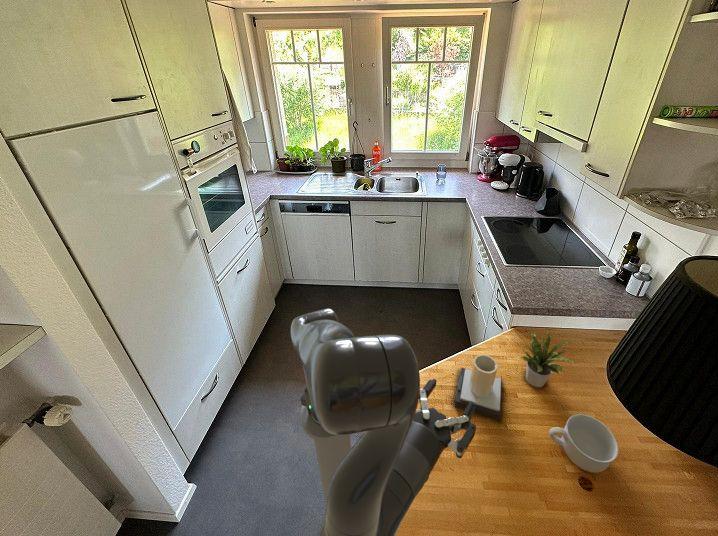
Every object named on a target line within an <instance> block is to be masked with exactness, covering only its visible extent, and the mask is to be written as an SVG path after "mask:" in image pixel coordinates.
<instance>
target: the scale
mask: <svg viewBox="0 0 718 536" xmlns="http://www.w3.org/2000/svg"><path fill="white" fill-rule="evenodd" d="M471 373H472V369H469V368H466V367H461V368H460V373H459V379H458V384H457V390H456V395H455V399H454V407H456V408H459V409H462V410H465V409H466V408H467V406H468V404H469V402H470V401H472V402H474V406H475V411H474V414H477V415H481V416H484V417H487V418H490V419H493V420H496V421H500V419H501V414H502V395H503V394H502V393H503V378H501V377H498V376H495V381H494V385H493V389H492V392H491V394H490V396H488V397H485V398H482V397H478V396H476V395H475V394H473V393H472V391H471V390H470V387H469V384H470V378H471Z"/></svg>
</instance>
